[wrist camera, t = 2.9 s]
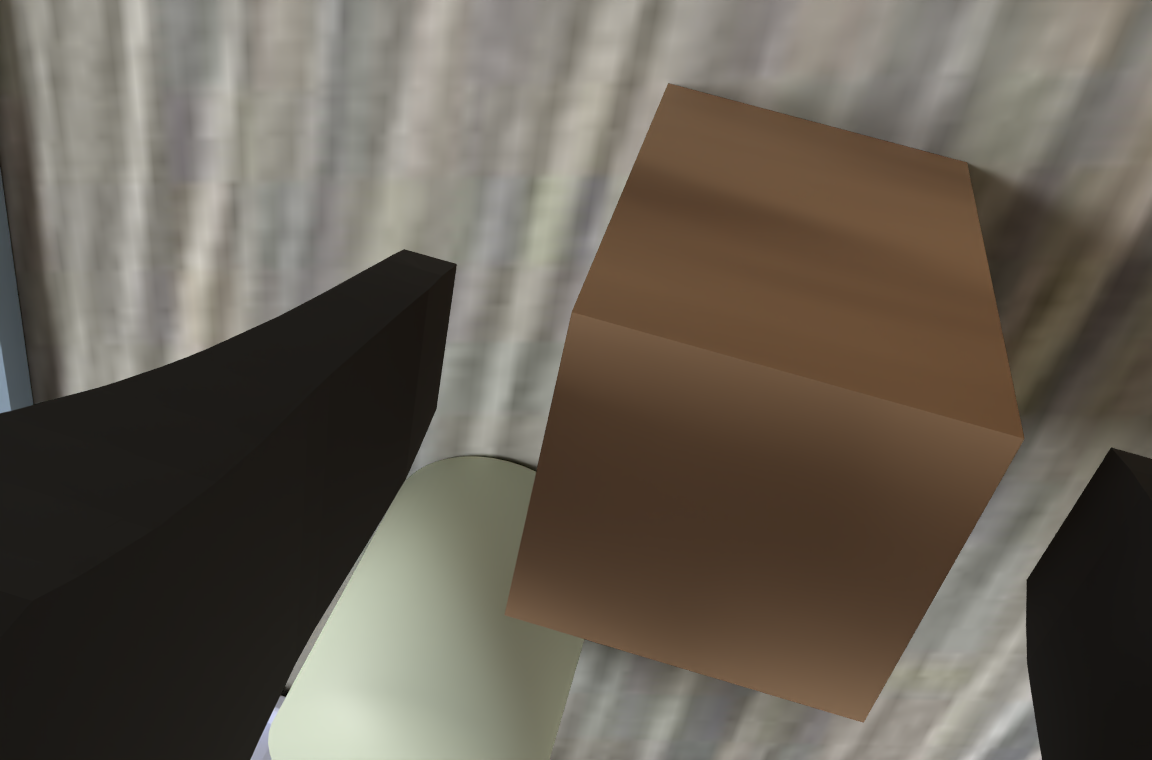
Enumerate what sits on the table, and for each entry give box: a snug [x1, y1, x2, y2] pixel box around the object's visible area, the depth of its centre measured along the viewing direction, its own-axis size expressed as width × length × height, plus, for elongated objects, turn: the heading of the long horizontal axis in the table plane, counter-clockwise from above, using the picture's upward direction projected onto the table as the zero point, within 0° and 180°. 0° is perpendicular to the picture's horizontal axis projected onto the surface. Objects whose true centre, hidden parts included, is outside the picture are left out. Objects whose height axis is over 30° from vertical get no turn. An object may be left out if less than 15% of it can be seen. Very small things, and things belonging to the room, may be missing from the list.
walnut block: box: [504, 83, 1024, 723], centre depth 13 cm, size 4×4×6 cm
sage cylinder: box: [268, 456, 584, 760], centre depth 18 cm, size 4×4×5 cm
